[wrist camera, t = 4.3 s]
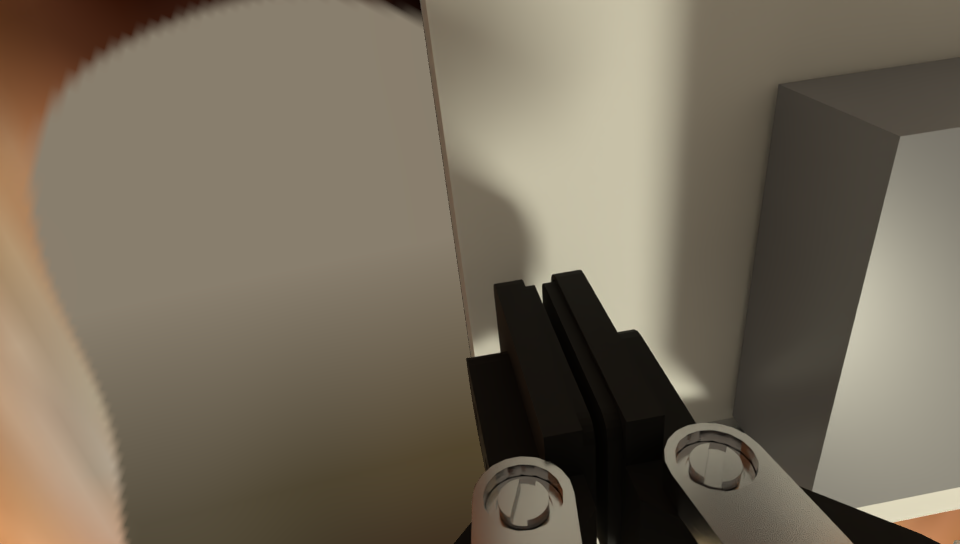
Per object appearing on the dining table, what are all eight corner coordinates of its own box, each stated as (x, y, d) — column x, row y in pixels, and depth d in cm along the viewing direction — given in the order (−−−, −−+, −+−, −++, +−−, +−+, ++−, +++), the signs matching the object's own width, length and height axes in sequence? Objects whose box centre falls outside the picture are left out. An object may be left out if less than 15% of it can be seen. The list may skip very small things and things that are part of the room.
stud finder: (778, 83, 11) (916, 143, 8) (1087, 38, 12) (1320, 79, 9) (732, 415, 15) (814, 530, 12) (961, 372, 16) (1090, 474, 13)
